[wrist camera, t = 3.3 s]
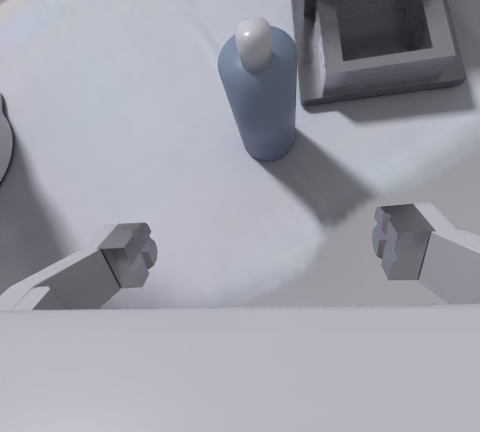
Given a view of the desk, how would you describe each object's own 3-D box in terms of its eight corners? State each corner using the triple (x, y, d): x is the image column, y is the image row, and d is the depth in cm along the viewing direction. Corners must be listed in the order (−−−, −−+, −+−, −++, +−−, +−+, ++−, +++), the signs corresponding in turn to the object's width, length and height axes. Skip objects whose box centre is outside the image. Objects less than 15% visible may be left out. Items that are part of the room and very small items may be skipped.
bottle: (236, 154, 27) (197, 63, 16) (252, 109, 28) (225, -9, 16) (286, 166, 26) (283, 76, 14) (300, 119, 27) (309, -2, 15)
